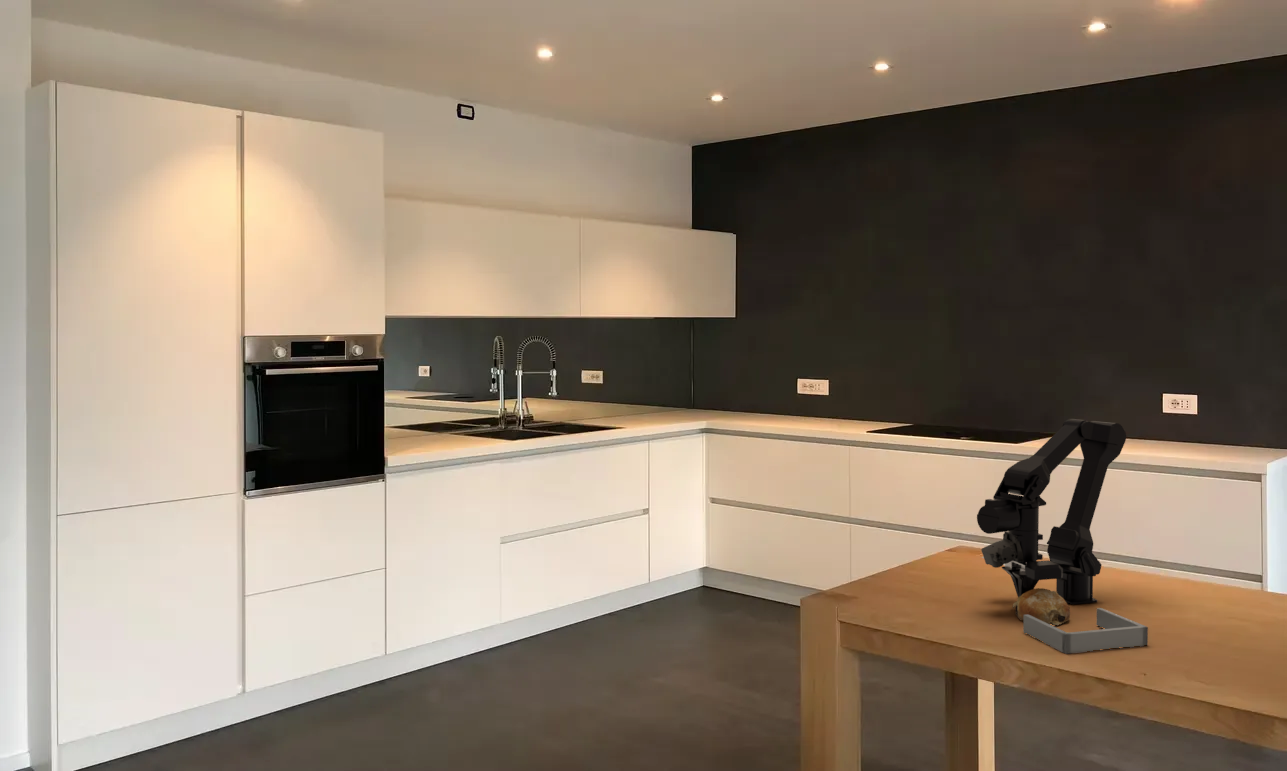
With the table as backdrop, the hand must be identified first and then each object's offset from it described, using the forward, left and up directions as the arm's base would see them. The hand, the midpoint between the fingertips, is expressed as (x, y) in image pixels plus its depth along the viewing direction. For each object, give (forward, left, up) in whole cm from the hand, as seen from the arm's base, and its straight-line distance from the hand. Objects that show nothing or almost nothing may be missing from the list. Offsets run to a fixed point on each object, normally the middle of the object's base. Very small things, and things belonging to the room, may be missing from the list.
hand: (1022, 603), depth 211 cm
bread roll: (0, +6, -2) cm, 6 cm away
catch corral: (0, +20, -2) cm, 20 cm away
